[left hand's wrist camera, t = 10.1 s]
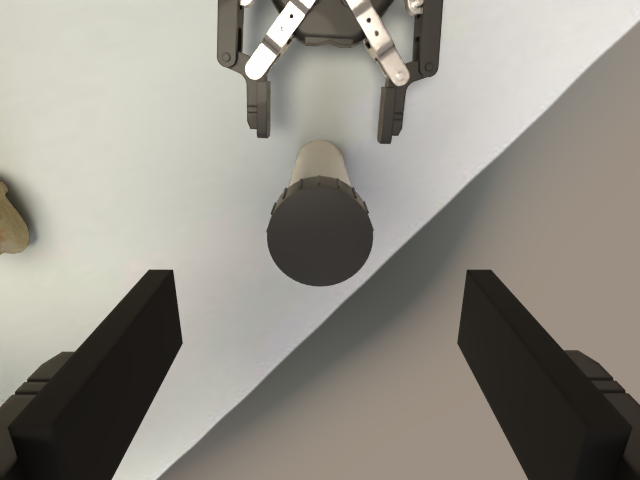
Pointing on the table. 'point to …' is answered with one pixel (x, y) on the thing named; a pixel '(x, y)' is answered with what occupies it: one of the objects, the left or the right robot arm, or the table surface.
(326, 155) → the bottle
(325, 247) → the lid
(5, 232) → the sculpture
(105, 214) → the table surface
